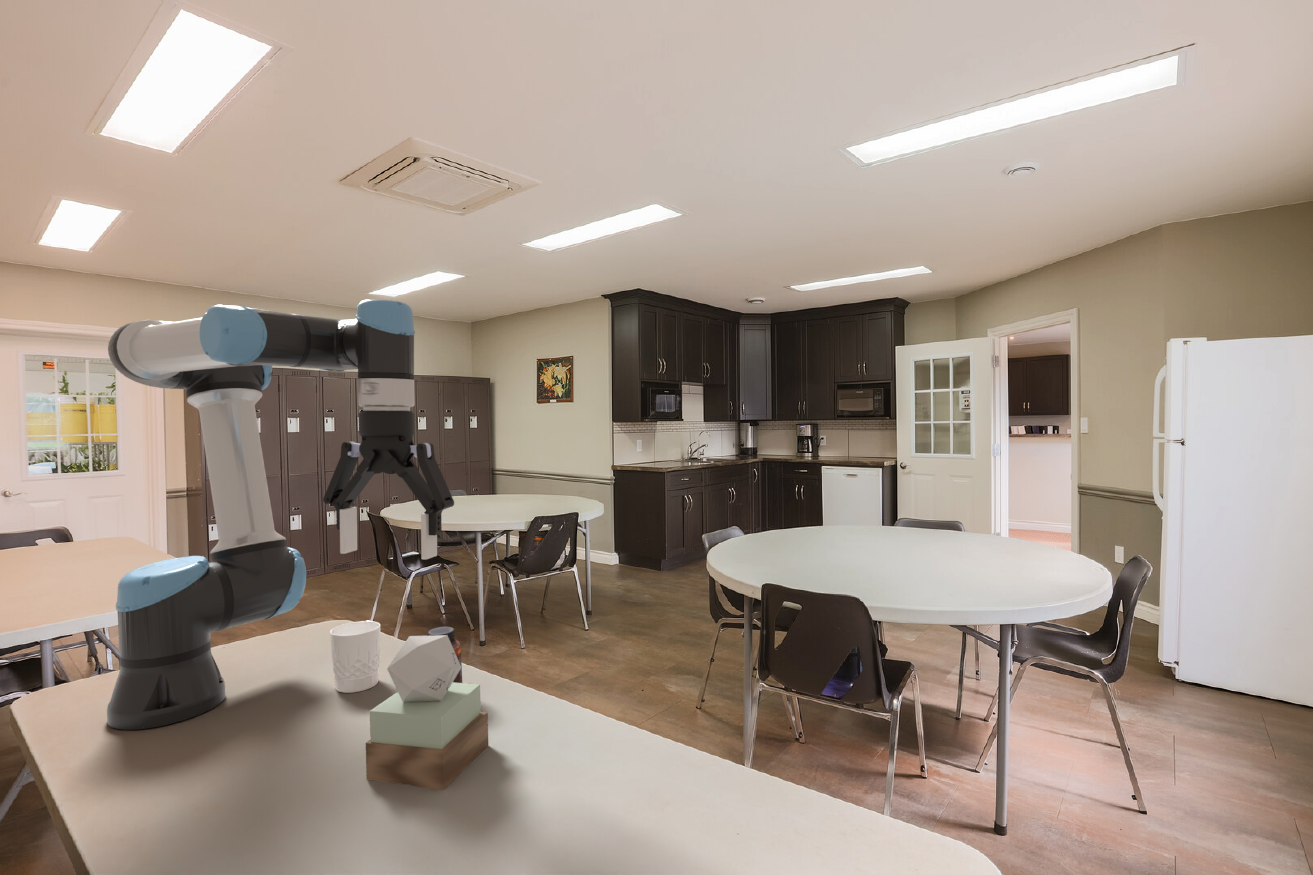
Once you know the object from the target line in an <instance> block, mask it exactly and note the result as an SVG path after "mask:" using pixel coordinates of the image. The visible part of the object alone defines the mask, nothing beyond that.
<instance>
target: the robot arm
mask: <svg viewBox="0 0 1313 875" xmlns="http://www.w3.org/2000/svg"><path fill="white" fill-rule="evenodd" d="M415 334H416V331H415V328H414V314H413V309H412V307H411V306H410V305H409V304H408V303H405V302H402V301H397V300H391V299H364V300H361V301H360V302H359V303H358V304H357V309H356V314H355V318H352V319H351V318H350V319H335V318H329V317H322V316H320V317H319V316H313V315H306V314H305V315H304V314H298V313H297V314H296V313H288V312H279V311H273V310H266V309H259V308H252V307H248V306H245V305H223V304H216V305H211V307H209V308H207V311H206V312H205V313H204V314H203V316H202V317H198V318H197V317H196V318H190V319H185V320H184V319H183V320H179V321H167V320H166V321H165V320H155V319H144V320H139V321H138V320H137V321H132V322H129V323H126V324H124V325H122V326H120V327H119V328H117V329H116V330H115V331H114V332H113V334H112V335H111V336H110V339H109V341H108V345H107V352H108V356H109V359H110V362H111V363H112V365H113V367H114V368H115V369H116V370H117V371H118V372H119V373H120V374H121V375H123V377H125V378H127V379H129V380H131V381H133V382H135V383H138V384H141V385H145V386H147V387H152V388H159V389H170V390H171V389H173V390H174V389H176V390H184V391H185V396H186V397H185V398H186V402H187V403H188V404H189V405H190V406H192V407H194V408H195V409H197V410H198V412H199V420H200V424H201V426H200V427H201V432H202V439H203V445H204V451H205V452H204V453H205V458H206V464H207V466H206V467H207V472H208V478H209V484H210V491H211V492H210V493H211V497H212V505H213V510H214V518H215V523H216V530H217V537H218V541H217V543H216V545H215V546H214V547H213V548H212V549H211V550H210V551H209V554H210V560H211V562H209V561H208V559H207V558H206V557H205V556H202V555H188V556H181V557H177V558H175V557H174V558H173V557H172V558H167V559H165V560H161V561H156V562H152V563H149V564H146V565H143V566H141V567H138V568H136V569H133V570H131V571H129V572H128V573H126V574H125V575H123V577H122V578H121V579H120V580H119V582H118V585H117V597H116V604H115V610H116V611H117V627H118V649H119V650H118V652H119V672H118V675H117V677H116V678H117V679H116V681H115V684H114V688H113V690H112V695H111V698H110V700H109V702H108V704H107V707H106V718H107V719H106V721H107V723H106V724H107V725H108V726H109V727H110V728H113V729H116V730H124V731H127V730H128V731H131V730H133V731H134V730H143V729H144V730H145V729H150V728H151V729H152V728H153V729H154V728H157V727H163V726H167V725H171V724H175V723H179V722H182V721H185V720H189V719H191V718H195V717H196V716H200V715H202V714H204V713H206V712H208V711H211V710H212V709H214V708H216V707H217V706H218V705H220V704H221V703H222V702H223V701H224V700H225V698H226V683H225V682H226V681H225V679H224V678H223V677H222V674H221V672H220V669H219V667H218V664H217V662H216V660H215V658H214V655H213V654H212V647H211V644H212V643H211V635H212V633H215V632H218V631H223V630H228V629H231V628H236V627H238V626H239V627H240V626H242V625H247V624H251V623H254V622H258V621H261V620H268V619H269V620H270V619H272V618H274V617H275V616H279V615H283V614H285V613H288V612H290V611H292V610H293V609H294V608H295V607H296V606H297V605H298V604H299V602H300V601H301V598H302V597H303V595H304V593H305V589H306V584H307V568H306V564H305V560H304V557H303V556H302V554H301V553H300V551H299V550H297V549H296V548H292V547H288V545H287V538H286V537H285V536H284V535H282V534H280V533H278V532H277V531H276V530H275V523H274V519H273V518H274V517H273V511H272V505H271V499H270V494H269V486H268V480H267V474H266V468H265V463H264V462H265V461H264V456H263V449H262V444H261V438H260V432H259V431H260V430H259V424H258V419H257V418H258V417H257V412H256V407H255V406H256V404H257V403H258V402H259V401H260V399H261V398H262V397H263V391H264V390H266V388H267V387H269V385H270V383H271V380H272V375H271V374H272V373H273V366H274V367H291V368H303V369H304V368H305V369H318V370H321V371H322V370H323V371H326V372H327V371H328V372H333V371H334V372H338V373H339V372H344V371H349V370H351V371H353V370H357V380H358V382H357V384H358V386H357V387H358V390H357V392H358V394H357V395H358V404H357V405H358V406H359V407H361V408H363V409H362V410H360V411H359V412H358V413H357V414H358V421H357V422H358V434H359V436H360V437H361V442H359V441H357V440H356V441H354V440H353V441H344V442H342V443H341V445H340V446H341V447H340V448H341V449H340V457H339V459H338V461H337V464H336V467H335V468H334V472H333V474H332V477H331V479H330V481H329V484H328V486H327V489H326V492H325V494H324V495H323V500H322V501H323V502H324V504H326V505H327V504H329V505H330V506H333V507H334V508H335V518H336V524H335V525H336V528H337V530H339V553H340V554H341V555H342V554H343V555H345V554H348V553H349V554H350V553H352V552H356V551H358V507H357V506H355V503H354V502H355V501H356V500H357V498H358V497H359V495H360V494H361V493H362V492H363V490H364V489H365V487H366V486H367V485H368V483H369V482H370V480H371V479H372V478H373V476H375V475H376V474H386V475H394V474H395V475H397V476H398V477H399V478H401V479H402V480H403V481H404V482H405V483H406V485H407V487H408V488H409V490H410V491H411V492H412V493H413V495H414V496H415V497H416V499H417V500H418V502H419V503H420V505H421V506H422V507H423V508H424V510H425V511H424V512H423V513H420V534H421V535H420V537H421V538H420V540H421V541H420V542H421V547H420V548H421V549H420V550H421V555H420V556H421V560H425V561H426V560H429V559H432V558H434V557H437V556H438V535H441V533H442V530H443V529H442V528H443V527H442V512H443V511H444V510H447V509H449V508H452V507H454V506H455V500H454V498H453V496H452V494H451V491H450V489H449V487H448V484H447V483H446V480H445V477H444V475H443V474H442V471H441V469H440V467H439V464H438V462H437V460H436V457H435V449H434V448H435V447H434V445H433V443H431V442H423V443H418V444H415V443H414V440H413V439H414V438H413V437H414V435H415V432H416V428H415V426H416V425H415V421H416V420H415V413H414V411H411V408H413V407H414V406H415V405H416V401H415V397H416V396H415V376H414V375H415ZM360 455H361V457H362V460H361V462H360V463H359V465H358V466H357V463H358V460H359V458H360ZM413 457H414V458H416V459H417V462H418V466H419V467H420V470H421V472H422V475H421V473H420V472H419V467H418V466H417V465H416V463H415V461H414V460H413ZM355 468H356V469H355ZM354 471H355V473H354ZM353 473H354V474H353ZM352 475H353V476H352ZM423 476H424V477H423Z"/></svg>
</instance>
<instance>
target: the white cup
mask: <svg viewBox="0 0 1313 875" xmlns="http://www.w3.org/2000/svg"><path fill="white" fill-rule="evenodd" d="M329 635H330V650H331V659H332V660H331V661H332V669H333V674H334V688H335V690H336V691H337V692H340V693H345V694H347V693H350V694H351V693H358V692H363V691H367V690H369V689H371V688H373V687H375V686H376V685H377V684H378V682H379V672H380V671H379V669H380V664H381V663H380V662H381V661H380V656H381V623H380V622H378V621H373V620H361V621H353V622H346V623H343V624H340V625H337V626H335V627H333V628H332V629H330V630H329Z"/></svg>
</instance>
